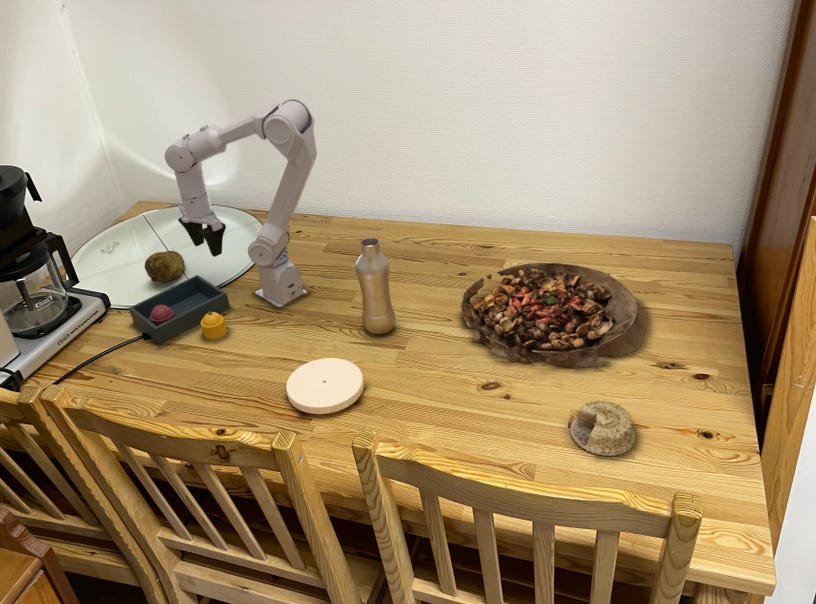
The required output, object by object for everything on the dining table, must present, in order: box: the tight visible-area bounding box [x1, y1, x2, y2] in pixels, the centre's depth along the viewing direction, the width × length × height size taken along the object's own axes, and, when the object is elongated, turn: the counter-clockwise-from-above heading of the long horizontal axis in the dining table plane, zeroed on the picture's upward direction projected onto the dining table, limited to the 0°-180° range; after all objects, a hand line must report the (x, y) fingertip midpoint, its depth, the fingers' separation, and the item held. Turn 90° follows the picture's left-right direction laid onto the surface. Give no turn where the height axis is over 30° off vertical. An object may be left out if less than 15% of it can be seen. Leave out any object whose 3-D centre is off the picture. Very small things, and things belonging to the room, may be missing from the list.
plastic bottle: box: [354, 237, 397, 335], centre depth 142 cm, size 6×7×20 cm
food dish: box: [460, 262, 648, 369], centre depth 141 cm, size 35×33×8 cm
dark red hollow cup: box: [150, 305, 175, 326], centre depth 155 cm, size 5×5×5 cm
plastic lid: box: [285, 357, 365, 415], centre depth 132 cm, size 14×14×2 cm
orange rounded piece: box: [200, 311, 228, 340], centre depth 151 cm, size 5×5×6 cm
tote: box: [128, 274, 231, 346], centre depth 158 cm, size 12×17×5 cm
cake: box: [569, 400, 636, 457], centre depth 114 cm, size 10×10×5 cm
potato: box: [144, 250, 186, 283], centre depth 173 cm, size 8×13×8 cm, turn 154°
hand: (208, 249), depth 162 cm, fingers open, 7 cm apart
